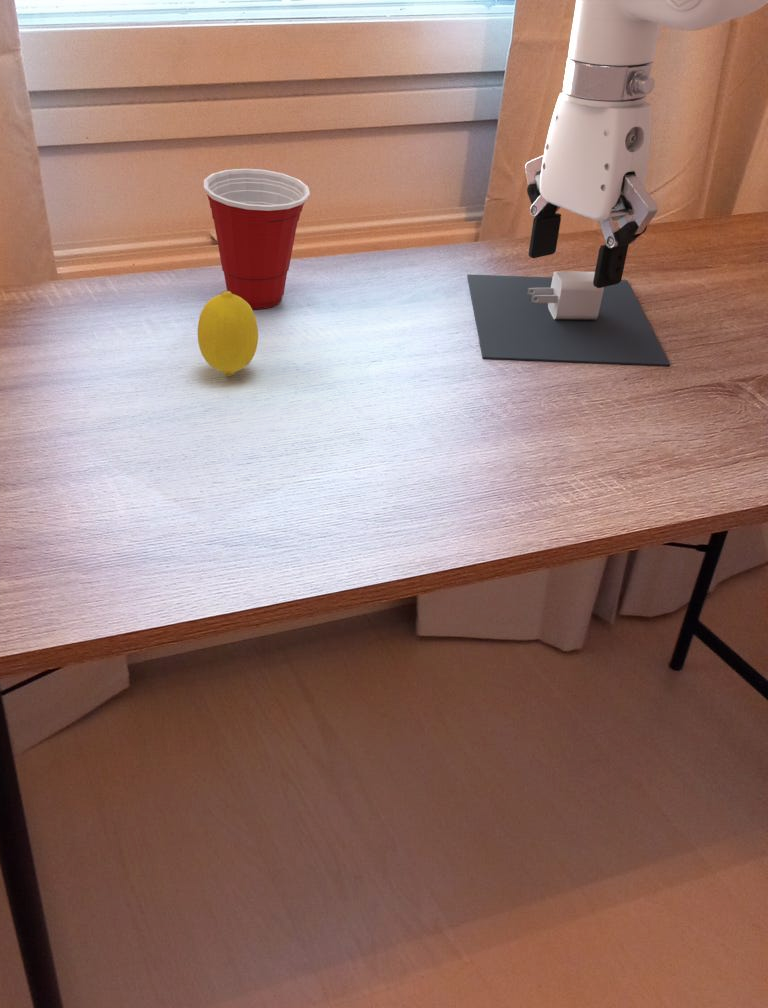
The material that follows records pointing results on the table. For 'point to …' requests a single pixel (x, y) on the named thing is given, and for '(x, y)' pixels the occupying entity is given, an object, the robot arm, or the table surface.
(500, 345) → the mat
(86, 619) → the table surface
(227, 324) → the lemon
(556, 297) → the usb wall charger
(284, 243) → the plastic cup
